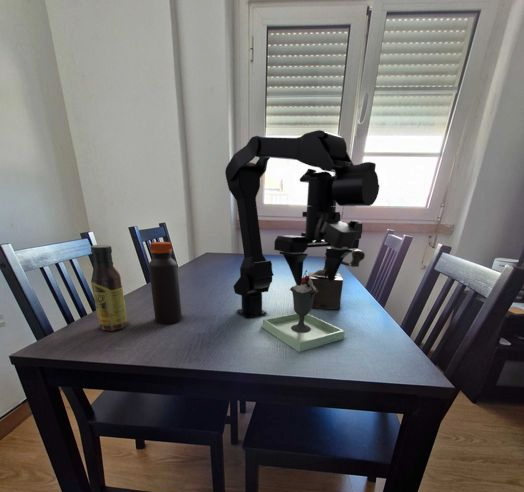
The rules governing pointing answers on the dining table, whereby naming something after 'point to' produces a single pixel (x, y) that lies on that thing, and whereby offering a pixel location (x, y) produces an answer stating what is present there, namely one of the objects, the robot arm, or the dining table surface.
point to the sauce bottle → (107, 290)
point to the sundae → (303, 302)
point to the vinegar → (164, 284)
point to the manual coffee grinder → (331, 284)
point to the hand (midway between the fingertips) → (315, 283)
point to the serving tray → (303, 341)
